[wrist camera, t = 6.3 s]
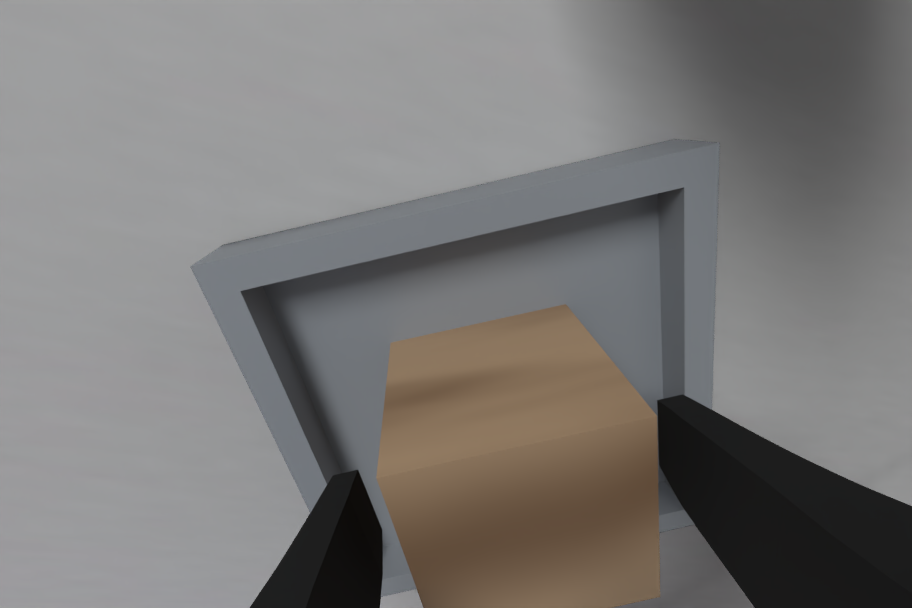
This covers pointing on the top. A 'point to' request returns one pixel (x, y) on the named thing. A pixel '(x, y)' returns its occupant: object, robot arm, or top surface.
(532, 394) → the walnut cube
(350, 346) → the slate tray
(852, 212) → the top surface
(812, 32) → the top surface
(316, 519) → the robot arm
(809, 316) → the top surface
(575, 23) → the top surface
